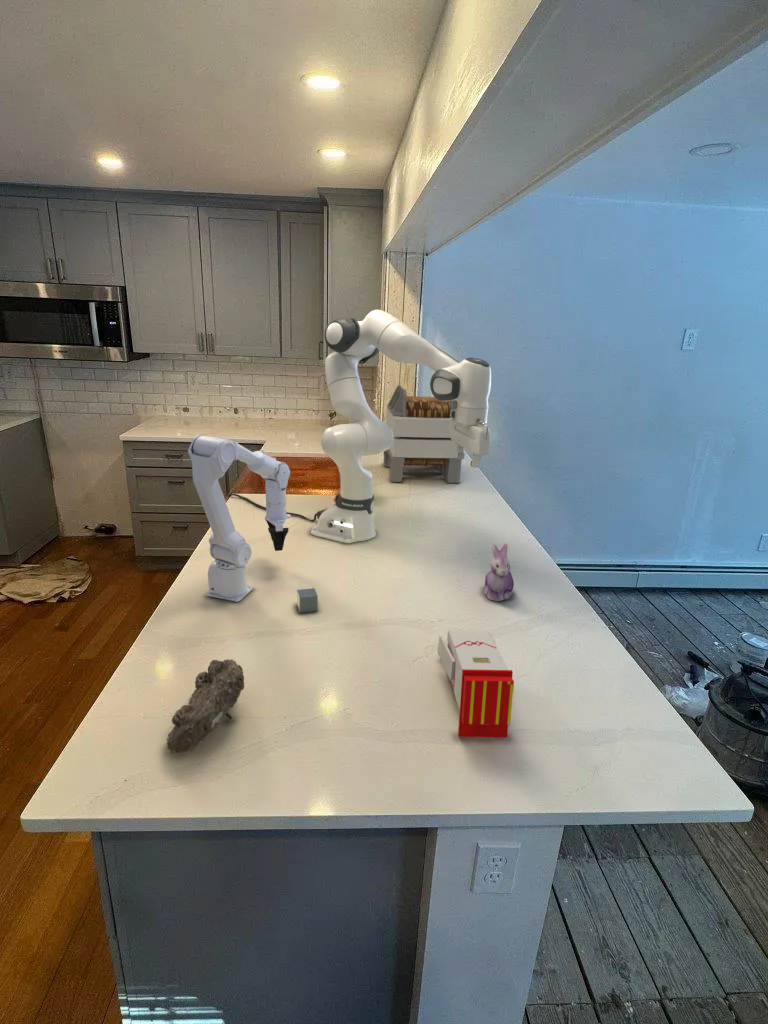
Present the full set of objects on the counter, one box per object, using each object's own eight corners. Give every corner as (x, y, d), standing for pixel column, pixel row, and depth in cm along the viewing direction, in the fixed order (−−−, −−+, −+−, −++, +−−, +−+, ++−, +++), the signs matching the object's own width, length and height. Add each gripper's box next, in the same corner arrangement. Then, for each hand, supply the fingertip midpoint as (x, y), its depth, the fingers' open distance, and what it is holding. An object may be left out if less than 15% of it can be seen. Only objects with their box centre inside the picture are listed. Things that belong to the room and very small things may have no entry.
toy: (488, 613, 130) (523, 677, 101) (484, 667, 133) (517, 744, 104) (435, 612, 130) (455, 676, 101) (432, 666, 133) (451, 743, 103)
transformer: (382, 463, 289) (386, 382, 275) (445, 464, 293) (451, 384, 279) (390, 482, 257) (394, 392, 243) (460, 483, 261) (468, 394, 247)
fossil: (192, 660, 117) (244, 628, 112) (224, 691, 120) (276, 661, 115) (142, 746, 98) (202, 712, 93) (182, 779, 101) (242, 748, 96)
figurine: (496, 605, 154) (502, 555, 148) (473, 589, 162) (479, 540, 157) (523, 599, 158) (530, 549, 153) (500, 583, 166) (506, 536, 161)
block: (317, 611, 147) (317, 595, 146) (299, 613, 146) (299, 597, 144) (314, 602, 151) (314, 588, 150) (297, 604, 150) (296, 589, 148)
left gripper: (293, 509, 157) (294, 553, 162) (286, 493, 170) (287, 534, 175) (267, 510, 155) (269, 555, 160) (262, 494, 168) (264, 536, 173)
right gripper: (498, 423, 155) (493, 472, 160) (466, 410, 174) (462, 454, 178) (477, 423, 154) (472, 473, 158) (448, 410, 172) (444, 454, 177)
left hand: (277, 545), depth 167 cm, fingers open, 7 cm apart
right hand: (467, 462), depth 169 cm, fingers open, 8 cm apart
